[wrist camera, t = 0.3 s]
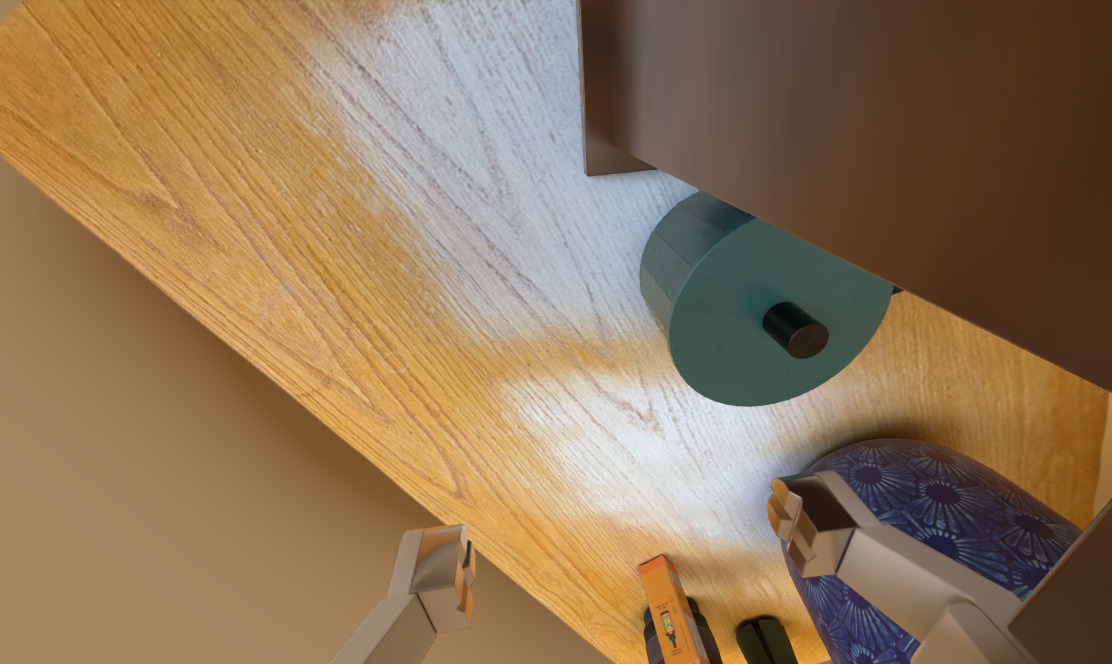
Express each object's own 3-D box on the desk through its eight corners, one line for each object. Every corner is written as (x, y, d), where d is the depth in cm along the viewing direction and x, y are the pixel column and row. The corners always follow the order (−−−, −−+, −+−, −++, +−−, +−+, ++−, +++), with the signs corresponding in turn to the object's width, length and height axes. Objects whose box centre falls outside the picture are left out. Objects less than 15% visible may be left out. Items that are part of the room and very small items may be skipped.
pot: (640, 193, 26) (682, 224, 20) (810, 174, 27) (906, 199, 20) (638, 342, 32) (670, 405, 25) (779, 325, 32) (847, 383, 26)
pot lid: (668, 211, 20) (696, 232, 17) (909, 185, 20) (981, 201, 17) (658, 406, 26) (678, 449, 23) (846, 383, 26) (891, 421, 23)
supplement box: (651, 578, 47) (682, 686, 39) (636, 565, 46) (665, 674, 37) (677, 566, 47) (714, 673, 38) (663, 552, 45) (698, 661, 37)
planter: (722, 457, 39) (878, 726, 22) (953, 365, 36) (1334, 598, 19) (767, 568, 48) (899, 811, 32) (952, 503, 45) (1203, 736, 29)
